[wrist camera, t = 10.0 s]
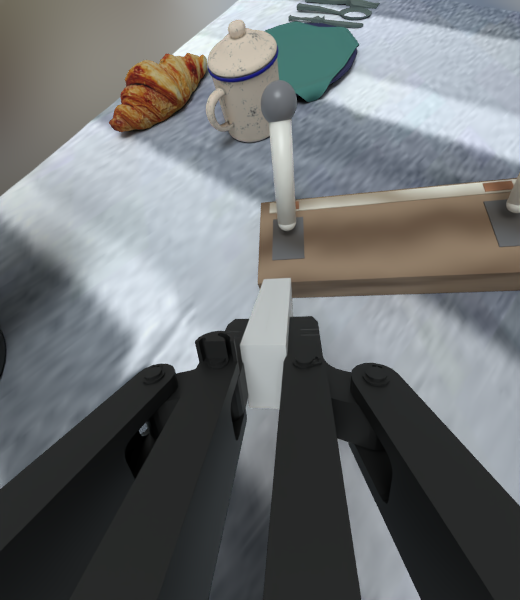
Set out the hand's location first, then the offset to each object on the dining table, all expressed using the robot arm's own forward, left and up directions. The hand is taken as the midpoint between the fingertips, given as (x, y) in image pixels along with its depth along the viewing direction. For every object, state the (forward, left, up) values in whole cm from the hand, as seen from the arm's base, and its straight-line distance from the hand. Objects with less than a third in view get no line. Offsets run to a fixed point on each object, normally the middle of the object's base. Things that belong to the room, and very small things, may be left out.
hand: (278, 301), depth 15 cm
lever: (-8, +7, -9) cm, 14 cm away
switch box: (0, +14, -13) cm, 19 cm away
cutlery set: (-35, +39, -14) cm, 54 cm away
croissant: (-46, +16, -14) cm, 51 cm away
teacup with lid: (-28, +19, -13) cm, 37 cm away
